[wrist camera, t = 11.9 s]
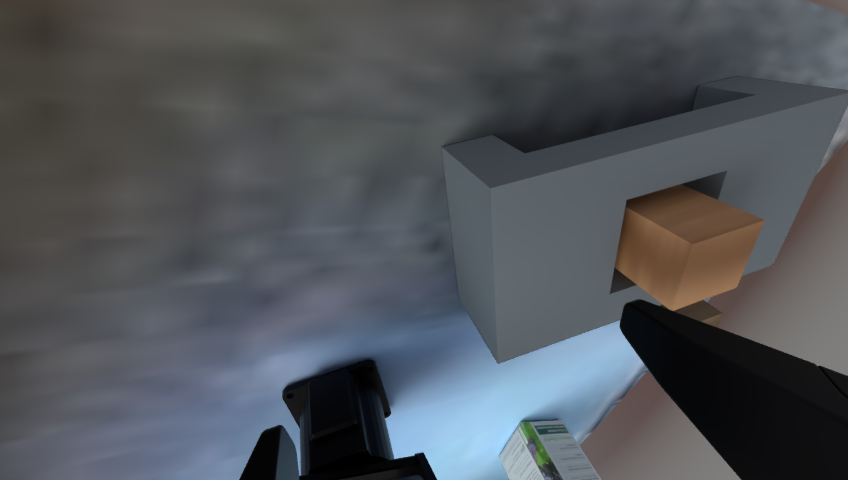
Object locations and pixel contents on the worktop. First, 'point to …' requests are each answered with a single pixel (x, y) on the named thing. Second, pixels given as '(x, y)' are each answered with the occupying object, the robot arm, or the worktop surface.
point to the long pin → (684, 245)
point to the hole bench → (620, 203)
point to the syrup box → (545, 454)
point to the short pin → (701, 312)
